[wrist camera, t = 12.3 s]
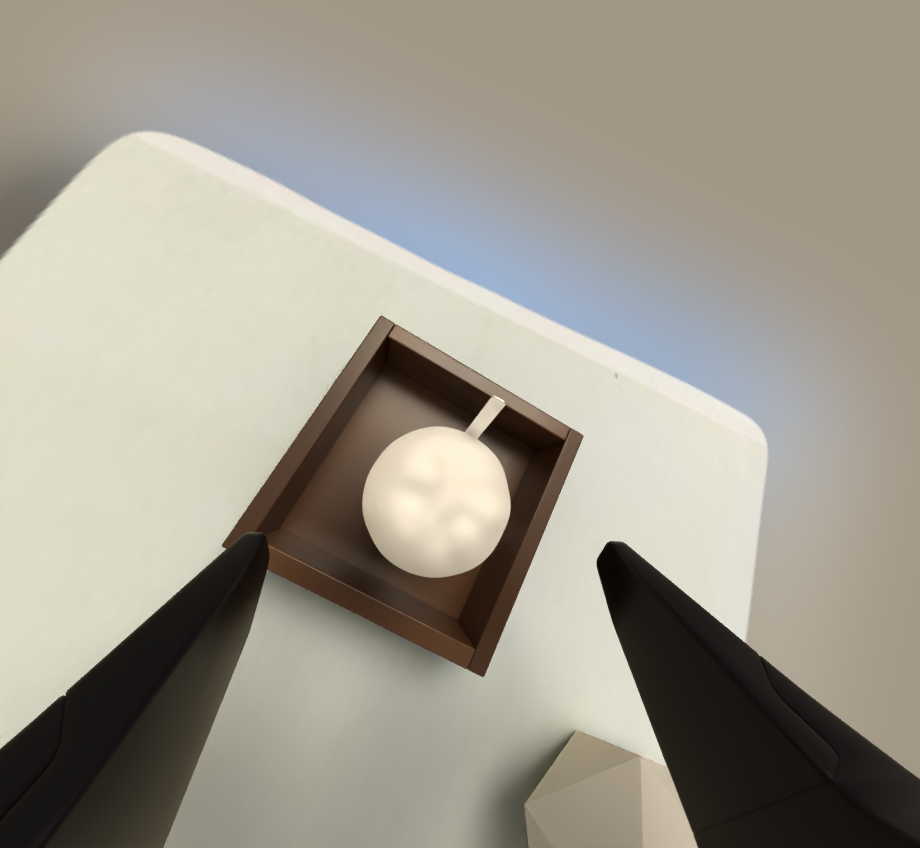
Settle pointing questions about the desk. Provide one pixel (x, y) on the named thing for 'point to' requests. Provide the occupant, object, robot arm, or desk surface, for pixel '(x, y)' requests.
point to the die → (605, 801)
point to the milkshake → (438, 499)
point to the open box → (344, 476)
